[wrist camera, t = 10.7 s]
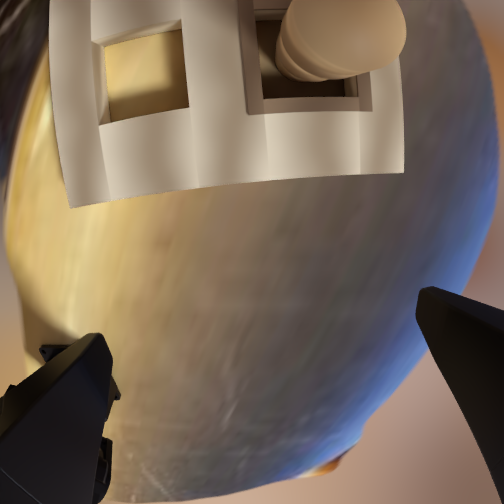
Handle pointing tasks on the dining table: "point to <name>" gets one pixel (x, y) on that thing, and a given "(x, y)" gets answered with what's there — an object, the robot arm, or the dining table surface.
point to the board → (206, 106)
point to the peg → (338, 38)
